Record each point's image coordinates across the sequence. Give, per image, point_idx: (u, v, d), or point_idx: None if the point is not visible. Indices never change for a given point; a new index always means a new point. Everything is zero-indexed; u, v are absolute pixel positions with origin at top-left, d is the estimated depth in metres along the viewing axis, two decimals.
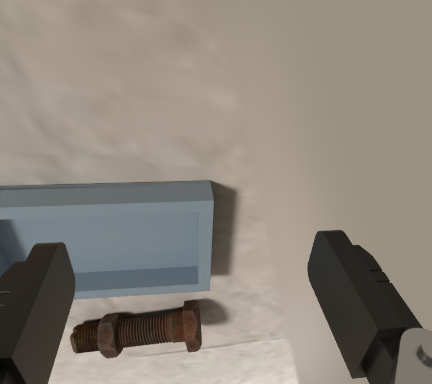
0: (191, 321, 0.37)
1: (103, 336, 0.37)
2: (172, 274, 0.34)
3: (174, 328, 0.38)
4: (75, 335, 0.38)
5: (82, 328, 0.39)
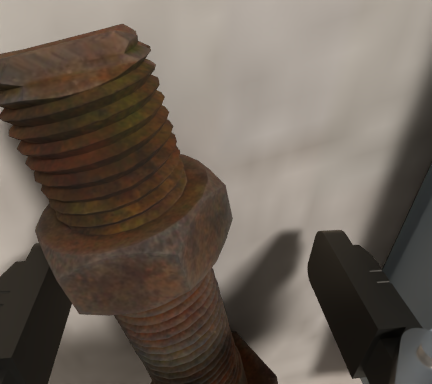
0: None
1: (203, 229, 0.07)
2: None
3: None
4: (142, 67, 0.06)
5: None
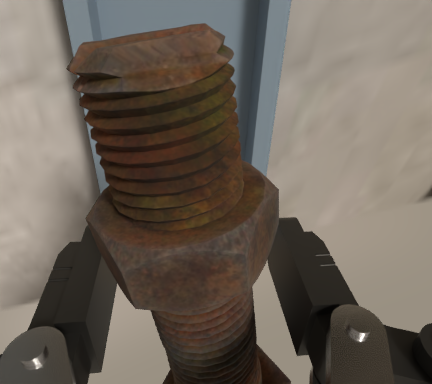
0: None
1: (262, 231, 0.08)
2: None
3: None
4: (227, 67, 0.06)
5: None
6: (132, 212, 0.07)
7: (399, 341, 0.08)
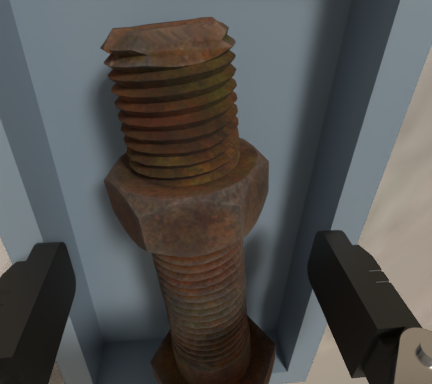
0: (268, 378, 0.15)
1: (254, 193, 0.09)
2: (91, 330, 0.16)
3: (245, 354, 0.14)
4: (229, 52, 0.08)
5: None
6: (147, 171, 0.08)
7: None
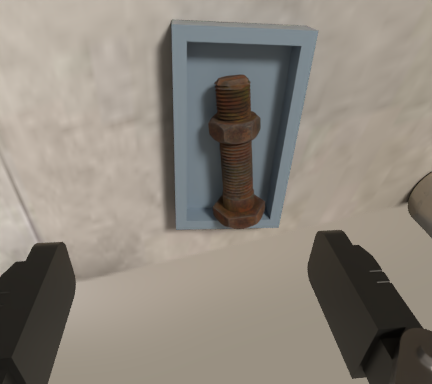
0: (261, 213, 0.36)
1: (255, 126, 0.30)
2: None
3: (252, 198, 0.34)
4: (249, 85, 0.29)
5: None
6: (224, 118, 0.29)
7: None
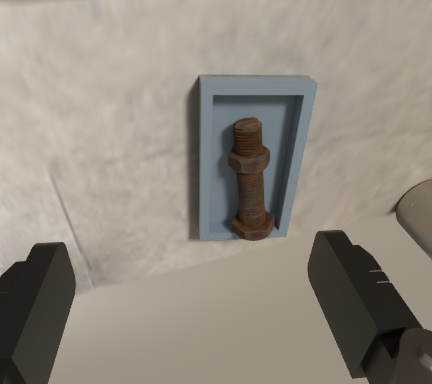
0: (272, 226, 0.43)
1: (266, 158, 0.37)
2: None
3: (264, 215, 0.41)
4: (260, 126, 0.36)
5: None
6: (241, 153, 0.36)
7: None
